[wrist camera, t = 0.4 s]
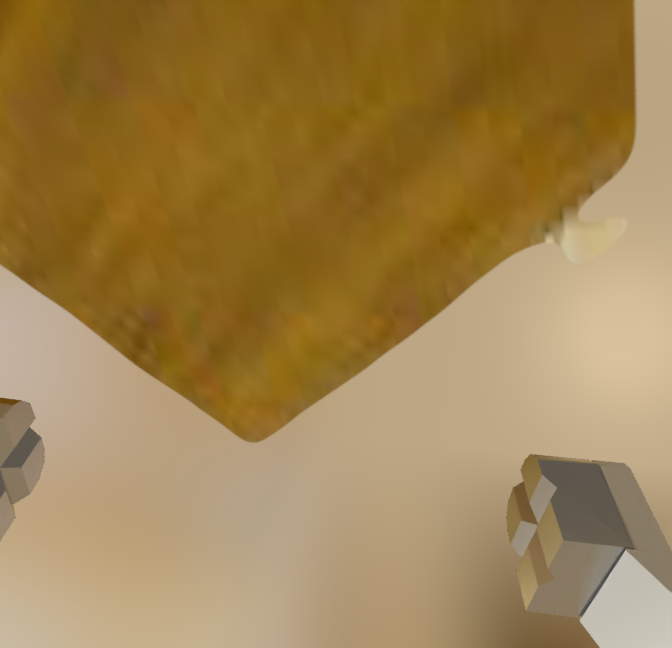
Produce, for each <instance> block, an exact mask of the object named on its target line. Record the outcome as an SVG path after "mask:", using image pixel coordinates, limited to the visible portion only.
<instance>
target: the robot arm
mask: <svg viewBox="0 0 672 648" xmlns="http://www.w3.org/2000/svg"><path fill="white" fill-rule="evenodd" d="M33 420H35V416H34V413H33V410H32V407H31V404H30V403H28V402H25V401H22V400H14V399H6V398H0V541H1V539H2V538H3V536H4V534H5V533H6V531H7V530H8V528H9V527H10V525H11V523H12V522H13V520H14V519H15V512H14V506H13V504H15V503H16V502H18V501H19V500H21V499H23V498H24V497H26V496H28V495H29V494H30V493H31V491H32V490H33V488H34V487H35V485H36V483H37V481H38V480H39V478H40V474H41V471H42V468H43V464H44V445H43V442H42V438H41V437H40V436H39V435H38V434H37V433H36V432H34V431H33V430H32V429H31V428H30V425H31V424H32V422H33ZM521 474H522V477H523V482H522V483H520V484H519V485H517V486H515V487H514V488H513V489H512V492H511V495H510V498H509V500H508V507H507V517H506V518H507V531H508V535H509V540H510V545H511V546H512V547H513V548H514V549H515V550H516V551H517V553H518V554H519V555H520V556H521V557H522V559H521V561H520V563H519V566H518V568H517V570H516V571H517V576H518V580H519V584H520V588H521V593H522V597H523V601H524V606H525V610H526V611H532V612H540V613H546V614H554V615H561V616H569V617H576V618H581V619H580V622H581V623H582V625H583V626H584V627H585V629H586V630H587V631H588V632H589V634H590V635H591V636H592V638H593V639H594V640H595V642H596V643H597V644H598V646H599V647H600V648H672V551H671V549H670V547H669V545H668V543H667V541H666V539H665V537H664V535H663V533H662V531H661V529H660V527H659V525H658V523H657V521H656V519H655V517H654V515H653V513H652V511H651V509H650V507H649V505H648V503H647V501H646V499H645V497H644V495H643V493H642V491H641V489H640V487H639V485H638V483H637V481H636V479H635V477H634V475H633V473H632V471H631V469H630V468H629V467H628V466H627V465H625V464H624V463H615V462H605V461H595V460H594V461H593V460H592V461H590V460H585V459H575V458H565V457H554V456H543V455H533V454H530V455H529V456H528V457H527V458H526V459H525V461H524V463H523V465H522V468H521Z"/></svg>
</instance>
